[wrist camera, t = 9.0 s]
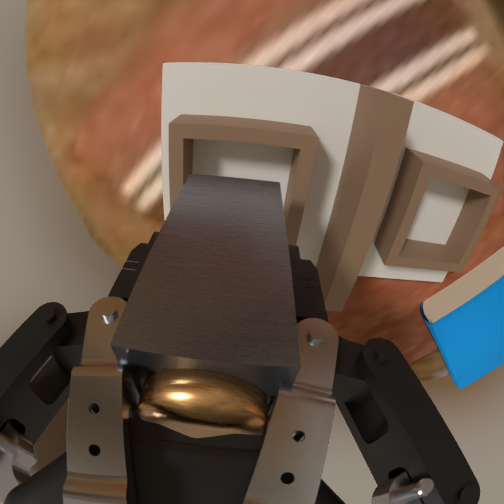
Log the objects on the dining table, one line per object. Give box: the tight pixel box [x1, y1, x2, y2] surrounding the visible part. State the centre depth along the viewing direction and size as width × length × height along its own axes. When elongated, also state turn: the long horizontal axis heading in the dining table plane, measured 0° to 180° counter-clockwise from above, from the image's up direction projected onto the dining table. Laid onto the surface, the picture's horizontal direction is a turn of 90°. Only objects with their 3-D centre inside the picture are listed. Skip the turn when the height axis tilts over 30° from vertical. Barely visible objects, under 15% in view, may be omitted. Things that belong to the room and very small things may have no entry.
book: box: [420, 246, 504, 389], centre depth 28 cm, size 17×4×25 cm
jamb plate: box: [161, 62, 503, 312], centre depth 17 cm, size 24×14×6 cm, turn 84°
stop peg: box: [110, 174, 301, 438], centre depth 10 cm, size 4×4×10 cm
